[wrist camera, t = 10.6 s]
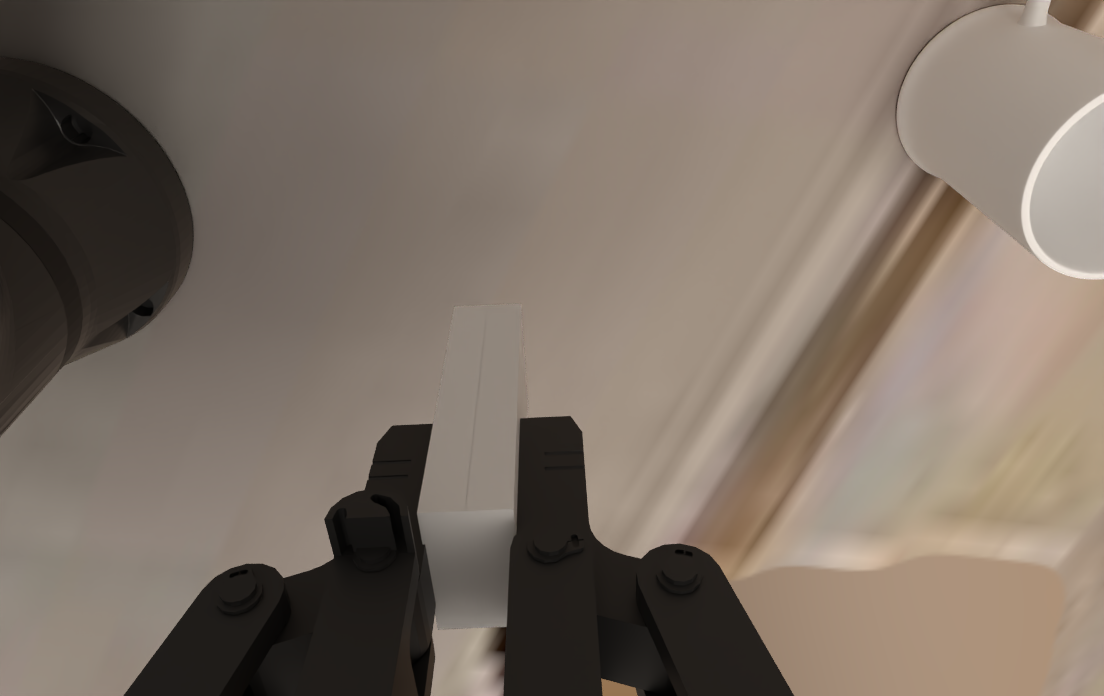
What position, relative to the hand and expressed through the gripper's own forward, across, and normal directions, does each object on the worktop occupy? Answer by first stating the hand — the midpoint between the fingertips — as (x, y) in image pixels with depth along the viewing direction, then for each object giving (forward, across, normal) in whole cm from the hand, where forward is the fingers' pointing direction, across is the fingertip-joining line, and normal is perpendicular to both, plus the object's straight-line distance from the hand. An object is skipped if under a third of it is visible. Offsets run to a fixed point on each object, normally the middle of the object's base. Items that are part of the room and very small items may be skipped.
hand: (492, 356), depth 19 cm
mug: (+25, +23, 0) cm, 34 cm away
